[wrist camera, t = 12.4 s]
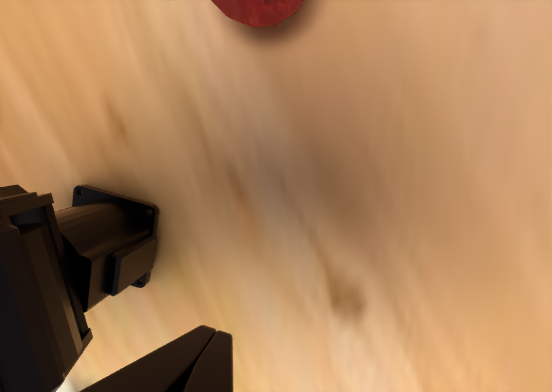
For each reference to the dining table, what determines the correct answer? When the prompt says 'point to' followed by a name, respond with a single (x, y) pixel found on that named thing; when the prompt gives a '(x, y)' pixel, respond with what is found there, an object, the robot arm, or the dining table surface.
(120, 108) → the dining table surface
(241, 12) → the onion
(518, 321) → the dining table surface
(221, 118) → the dining table surface
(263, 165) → the dining table surface
